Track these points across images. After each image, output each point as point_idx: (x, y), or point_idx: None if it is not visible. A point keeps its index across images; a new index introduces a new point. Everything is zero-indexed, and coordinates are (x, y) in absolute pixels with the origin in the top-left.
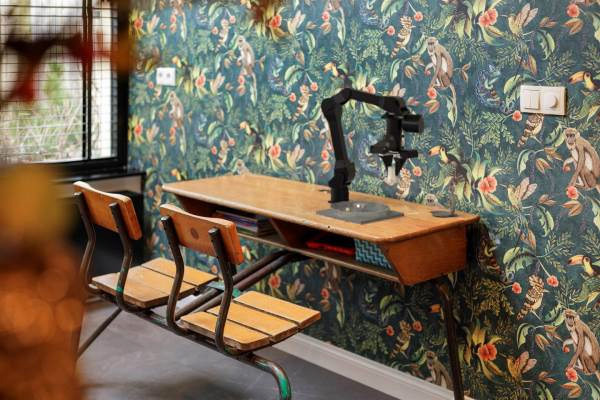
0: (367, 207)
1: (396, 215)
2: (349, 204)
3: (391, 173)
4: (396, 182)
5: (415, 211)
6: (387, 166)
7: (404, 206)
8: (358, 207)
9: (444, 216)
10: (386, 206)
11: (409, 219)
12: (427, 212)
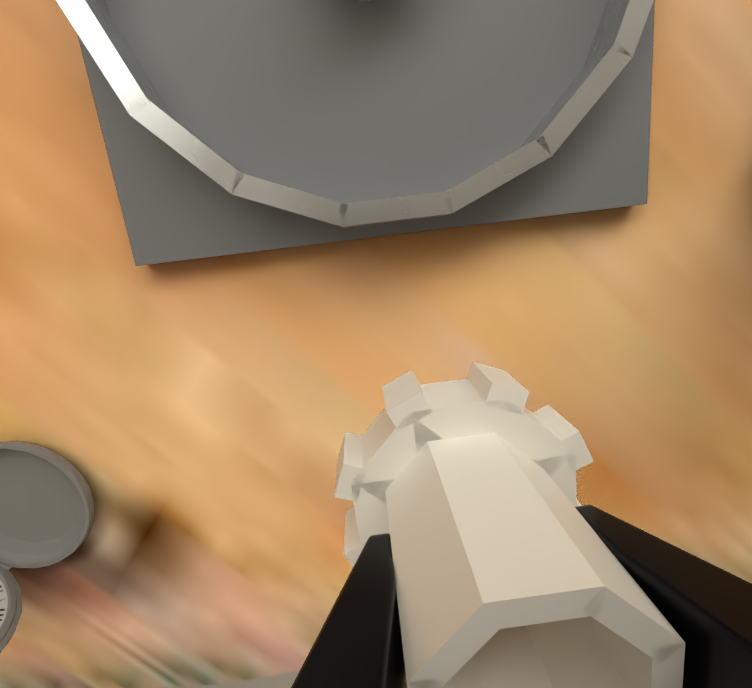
0: (480, 151)
1: (114, 166)
2: (615, 5)
3: (443, 502)
4: (338, 458)
5: (240, 445)
6: (703, 635)
7: None
8: None
9: None
10: (256, 178)
11: (10, 207)
12: (171, 490)
